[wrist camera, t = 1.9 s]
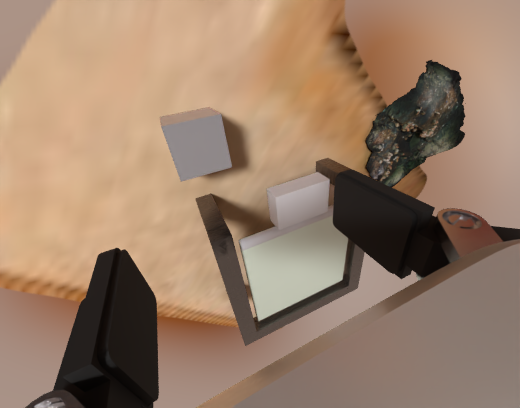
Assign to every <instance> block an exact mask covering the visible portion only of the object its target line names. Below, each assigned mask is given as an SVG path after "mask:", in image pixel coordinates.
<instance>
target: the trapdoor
mask: <svg viewBox="0 0 520 408" xmlns="http://www.w3.org/2000/svg"><path fill="white" fill-rule="evenodd" d="M329 183H330V179H328V178H327V177H325V176H323V175H322V174H320V173H319V172H316V173H313V174H310V175H307V176H304V177H301V178H298V179H295V180H292V181H288V182H285V183H282V184H279V185H276V186H273V187H270V188H267V196H268V204H269V212H270V220H271V221H272V223H273V224H274V225H275V226H274V227H272V228H269V229H267V230H264V231H261V232H259V233H256V234H253V235H251V236H248V237H245V238H243V239H240V240H239V245H240V249H241V253H242V257H243V261H244V266H245V270H246V274H247V278H248V282H249V287H250V291H251V295H252V299H253V303H254V308H255V312H256V315H257V318H258V320H259V321H260V320H262V319H264V318H266V317H268V316H270V315H272V314H274V313H276V312H278V311H280V310H282V309H285V308H287V307H289V306H291V305H293V304H295V303H297V302H299V301H301V300H303V299H305V298H307V297H309V296H311V295H313V294H315V293H317V292H319V291H321V290H323V289H325V288H327V287H329V286H331V285H333V284H335V283H337V282H339V281H342V279H343V272H344V265H345V257H346V250H347V243H348V238H347V237H346V236H345V235H344V234H342V233H341V232H340V231H339V230H338V229H336V228H335V227H334V225H333V206H334V204H333V205H330V206H328V199H329Z"/></svg>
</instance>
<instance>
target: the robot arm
mask: <svg viewBox="0 0 520 408" xmlns="http://www.w3.org/2000/svg"><path fill="white" fill-rule="evenodd" d="M433 211H434V207H432V206H430V205H428V204H426V203H424V202H421V201H419V200H417V199H415V198H413V197H411V196H409V195H406V194H404V193H402V192H400V191H398V190H396V189H393V188H391V187H389V186H387V185H385V184H383V183H380V182H378V181H376V180H374V179H372V178H370V177H367V176H365V175H363V174H361V173H359V172H357V171H354V170H352V169H348V170H345V171H342V172H340V173H338V175H337V177H336V178H335V190H334V206H333V225H334V227H335V228H336V229H338V230H339V231H340V232H341V233H342V234H344V235H345V236H346V237H347V238H348V239H350V240H351V241H352V242H353V243H355V244H356V245H357V246H358V247H359V248H361V249H362V250H363V251H364V252H366V253H367V254H368V255H369V256H370V257H372V258H373V259H374V260H375V261H377V262H378V263H379V264H380V265H381V266H383V267H384V268H385V269H386V270H387V271H389V272H390V273H392V274H395V275H397V276H398V277H399V278H401V279H402V278H404V277H406V276H408V275H410V274H411V271H412V270H413V271H414V272H416V275H417V278H418V281H417V282H416V283H414V284H412V285H410V286H408V287H407V288H405V289H403V290H401V291H400V292H397V293H396V294H394V295H392V296H390V297H388V298H387V299H385V300H383V301H381V302H380V303H378V304H376V305H374V306H372V307H371V308H369V309H367V310H366V311H364V312H362V313H360V314H358V315H357V316H355V317H353V318H351V319H349V320H348V321H346V322H344V323H342V324H341V325H339V326H337V327H335V328H333V329H332V330H330V331H328V332H326V333H325V334H323V335H321V336H319V337H318V338H316V339H314V340H312V341H310V342H309V343H307V344H305V345H303V346H302V347H300V348H298V349H297V350H295V351H293V352H291V353H290V354H288V355H286V356H284V357H283V358H281V359H279V360H277V361H275V362H274V363H272V364H270V365H268V366H267V367H265V368H263V369H261V370H260V371H258V372H256V373H255V374H253V375H251V376H249V377H247V378H246V379H244V380H242V381H240V382H239V383H237V384H235V385H233V386H232V387H230V388H228V389H227V390H225V391H223V392H222V393H220V394H218V395H216V396H215V397H213V398H211V399H210V400H208V401H206V402H205V403H203V404H201V405H200V406H198V407H196V408H520V229H513V228H504V227H494V226H490V225H489V224H488V223H487V221H486V220H484V219H483V218H482V217H480V216H479V215H477V214H475V213H472V212H470V211H466V210H462V209H455V208H447V209H443V210H441V211H439V212H438V214H437V217H434V216H432V214H433ZM158 388H159V386H158V344H157V303H156V298H155V295H154V293H153V291H152V290H151V288H150V287H149V285H148V284H147V282H146V280H145V279H144V277H143V276H142V274H141V272H140V271H139V269H138V268H137V266H136V265H135V263H134V261H133V260H132V258H131V257H130V255H129V254H128V252H127V251H126V250H120V249H119V248H115V249H112V250H109V251H106V252H103V253H100V254H99V255H98V258H97V261H96V264H95V268H94V271H93V274H92V278H91V281H90V285H89V288H88V291H87V295H86V298H85V299H84V300H83V301H82V302H81V304H80V306H79V309H78V312H77V316H76V319H75V322H74V325H73V328H72V332H71V335H70V338H69V341H68V345H67V348H66V351H65V354H64V357H63V360H62V364H61V367H60V370H59V373H58V376H57V379H56V383H55V386H54V389H53V391H51V392H48V393H46V394H43V395H42V396H40V397H39V398H37V399H36V400H34V401H32V402H31V403H30V404H29V405H28V406H26V407H25V408H153V402H154V401H156V400H157V399H158V395H159V394H158V393H159V389H158Z"/></svg>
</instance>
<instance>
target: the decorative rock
mask: <svg viewBox="0 0 520 408" xmlns="http://www.w3.org/2000/svg"><path fill="white" fill-rule="evenodd" d="M426 63H427V65H426V68H427V69H426V72H425V73H424V72H423V73H422V74H421V75H420V76H419V79H418V82H417V84H416V88H413V89H411V90H410V92H408V93H407V94H406V95H404V96H402V97H400V98H398V99H397V100H396V101H394V102H393V103H392V105H389V106H388V107H387V108H385V109H384V111H383V112H381V113H379V114H377V117H376V120H375V121H373V124H374V128H373V129H372V131H371V133H370V134H369V135H368V137H367V139H366V143H367V146H368V148H369V149H370V150H372V151H373V153H372V155H371V156H370V159H369V162H368V163H367V170H368V171H369V173H370V176H371V178H374V179H377V180H379V181H378V182H380V183H383V184H385V185H387V186H389V187H391V188H392V187H393V186H395V185H396V184H397V183H398V182H399V181H400V180H401V179H402V178H403V177H405V176H406V175H407V174H408V173H409V172H410V171H411V170H412V169H414V168H416V167H417V166H418V165H420V164H422V163H424V162H425V160H426V158H427V157H430V156H433V155H436V154H438V153H441V152H444V151H447V150H450V149H452V148H453V147H456V146H457V145H458V144H459V143H461V141H462V140H463V138H464V135H465V133H464V132H462V131H461V130H460V127H461V126H463V124H464V123H463V120H464V117H465V114H464V106H463V105H462V103H463V99H464V97H463V94H461V91H460V90H461V89H460V86H459V85H460V82H459V81H460V80H461V77H460V75H459V72H457V71H455V70H450V69H449V68H448V67H445V66H443V65H441V64H438V62H433V61H432V60H430V61H426Z"/></svg>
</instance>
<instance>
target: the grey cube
mask: <svg viewBox="0 0 520 408" xmlns="http://www.w3.org/2000/svg"><path fill="white" fill-rule="evenodd" d="M160 122H161V127H162V130H163V133H164V136H165V138H166V141H167V144H168V147H169V150H170V152H171V155H172V158H173V161H174V163H175V166H176V169H177V172H178V175H179V177H180V180H181V181H185V180H188V179H192V178H195V177H199V176H203V175H206V174H210V173H213V172H217V171H220V170H224V169H227V168H231V167H232V164H231V160H230V155H229V150H228V145H227V140H226V135H225V131H224V126H223V121H222V116H221V114H220V113H219V112H217V111H215V110H213V109H212V108H210V107H207V108H202V109H197V110H192V111H187V112H182V113H177V114H172V115H167V116H162V117H160Z"/></svg>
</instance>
